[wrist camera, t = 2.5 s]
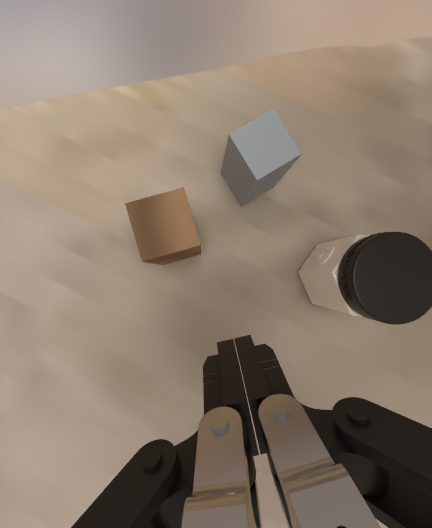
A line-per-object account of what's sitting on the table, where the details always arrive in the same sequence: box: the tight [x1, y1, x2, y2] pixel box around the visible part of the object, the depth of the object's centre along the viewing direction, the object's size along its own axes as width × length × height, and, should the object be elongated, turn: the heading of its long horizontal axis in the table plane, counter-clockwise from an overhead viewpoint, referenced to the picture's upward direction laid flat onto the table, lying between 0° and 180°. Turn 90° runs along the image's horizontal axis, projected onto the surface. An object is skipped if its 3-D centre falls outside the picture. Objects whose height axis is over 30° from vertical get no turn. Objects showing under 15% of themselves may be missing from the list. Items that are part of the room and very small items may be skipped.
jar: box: [298, 232, 432, 324], centre depth 29 cm, size 9×8×12 cm
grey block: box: [221, 108, 302, 206], centre depth 30 cm, size 5×5×10 cm
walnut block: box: [125, 187, 201, 265], centre depth 28 cm, size 5×5×12 cm
